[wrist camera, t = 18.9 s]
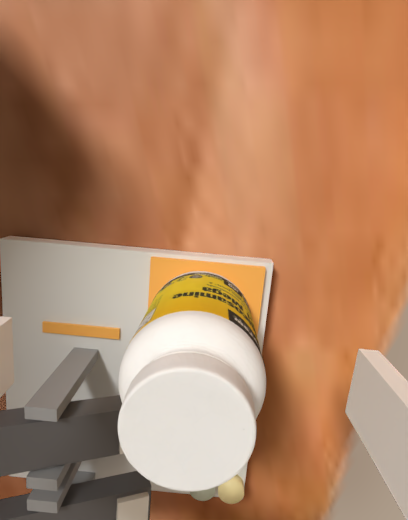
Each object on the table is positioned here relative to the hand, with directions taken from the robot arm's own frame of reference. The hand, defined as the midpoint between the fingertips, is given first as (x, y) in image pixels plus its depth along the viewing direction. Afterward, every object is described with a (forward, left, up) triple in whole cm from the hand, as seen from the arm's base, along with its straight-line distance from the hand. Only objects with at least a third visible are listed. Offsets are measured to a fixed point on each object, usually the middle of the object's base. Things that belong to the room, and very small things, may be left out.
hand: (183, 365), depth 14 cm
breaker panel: (-4, -7, -11) cm, 13 cm away
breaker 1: (-7, -7, -4) cm, 11 cm away
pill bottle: (0, -1, -9) cm, 9 cm away
